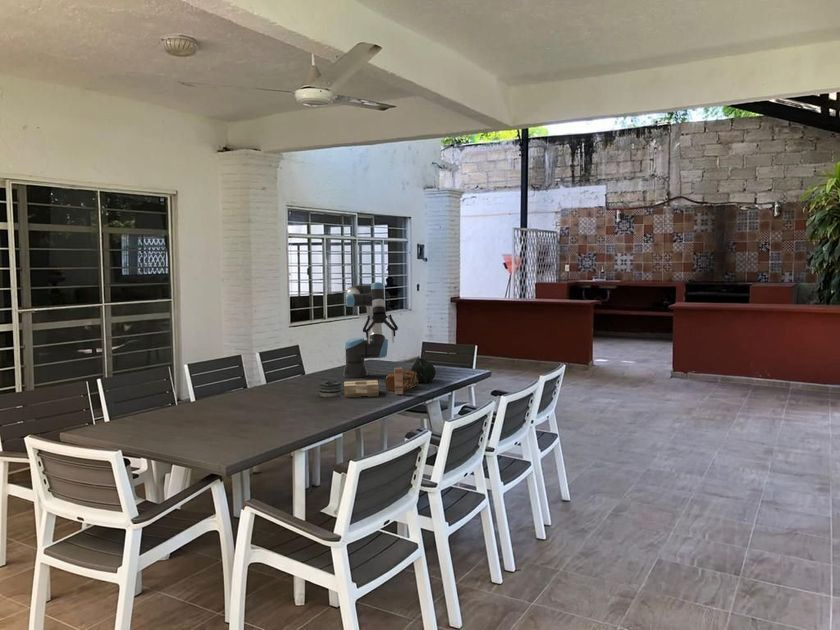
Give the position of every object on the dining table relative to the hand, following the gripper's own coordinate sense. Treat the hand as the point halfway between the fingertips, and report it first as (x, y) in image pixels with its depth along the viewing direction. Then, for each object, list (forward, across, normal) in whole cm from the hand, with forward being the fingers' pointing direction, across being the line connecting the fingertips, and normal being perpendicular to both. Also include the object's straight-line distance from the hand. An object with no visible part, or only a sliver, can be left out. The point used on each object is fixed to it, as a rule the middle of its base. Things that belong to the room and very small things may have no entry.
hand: (381, 342), depth 374 cm
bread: (+27, +10, +3) cm, 29 cm away
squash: (+20, +24, +17) cm, 36 cm away
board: (+31, -13, -8) cm, 35 cm away
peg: (+34, +7, -11) cm, 36 cm away
